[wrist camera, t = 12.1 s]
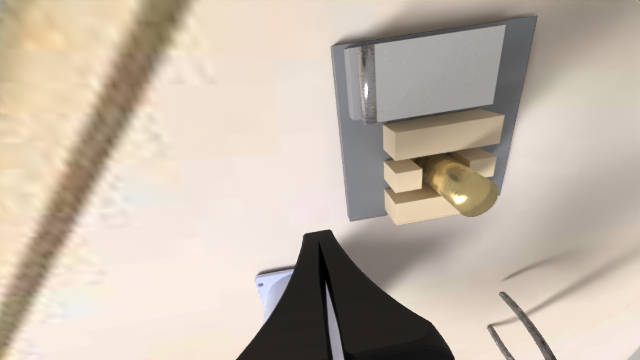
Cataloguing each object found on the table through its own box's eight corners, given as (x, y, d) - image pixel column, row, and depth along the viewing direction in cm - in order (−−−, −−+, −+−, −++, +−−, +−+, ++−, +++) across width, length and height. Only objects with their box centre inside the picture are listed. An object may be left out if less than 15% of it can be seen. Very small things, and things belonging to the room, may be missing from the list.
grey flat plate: (484, 102, 17) (495, 104, 16) (360, 121, 17) (364, 125, 16) (495, 26, 15) (508, 24, 14) (355, 47, 15) (359, 46, 14)
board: (491, 190, 24) (522, 209, 21) (347, 215, 23) (356, 239, 20) (525, 17, 18) (575, 8, 15) (330, 46, 17) (339, 43, 14)
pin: (443, 174, 21) (494, 212, 16) (413, 180, 21) (455, 220, 16) (445, 145, 20) (501, 175, 15) (413, 151, 20) (458, 184, 15)
